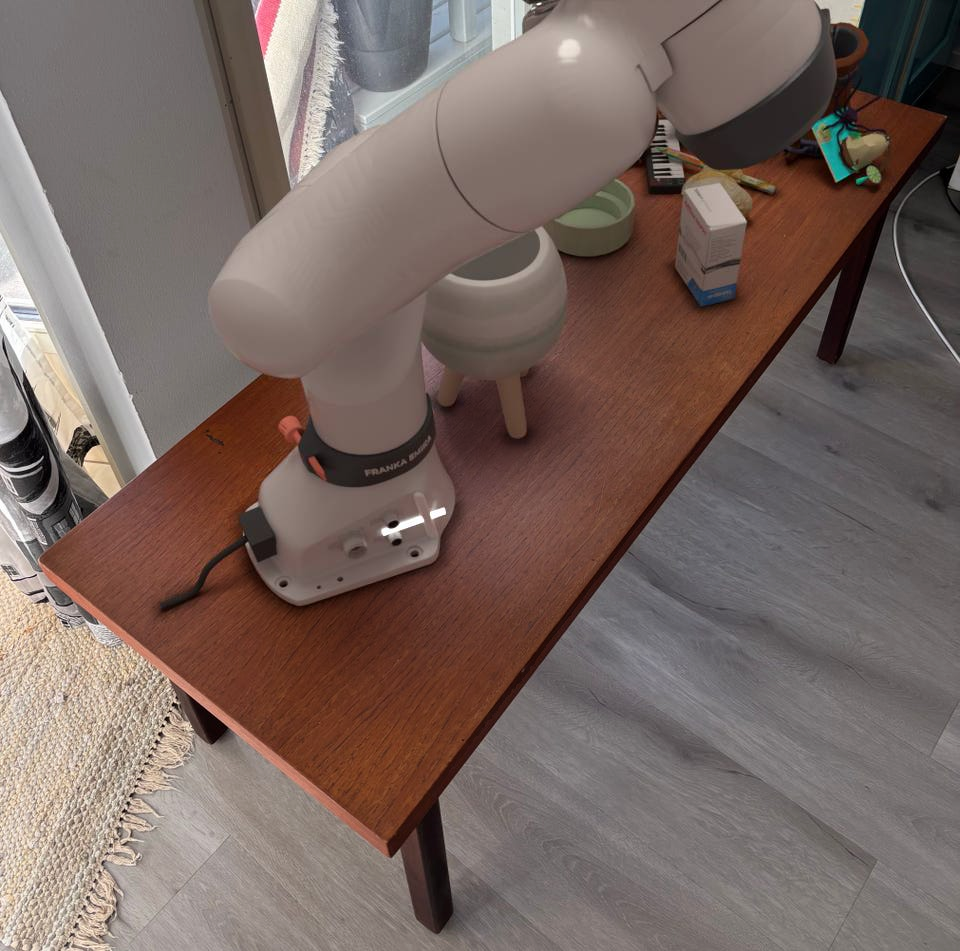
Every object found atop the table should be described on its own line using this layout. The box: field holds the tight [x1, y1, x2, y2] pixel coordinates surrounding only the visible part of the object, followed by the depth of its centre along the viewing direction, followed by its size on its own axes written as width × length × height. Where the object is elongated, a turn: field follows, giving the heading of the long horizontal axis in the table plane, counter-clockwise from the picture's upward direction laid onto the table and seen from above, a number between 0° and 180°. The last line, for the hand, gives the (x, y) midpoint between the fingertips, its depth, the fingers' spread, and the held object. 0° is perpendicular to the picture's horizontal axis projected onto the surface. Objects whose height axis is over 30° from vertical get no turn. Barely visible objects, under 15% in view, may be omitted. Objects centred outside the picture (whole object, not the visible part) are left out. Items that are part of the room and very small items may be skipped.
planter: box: [422, 226, 569, 439], centre depth 104 cm, size 16×16×22 cm
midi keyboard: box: [643, 116, 687, 194], centre depth 141 cm, size 18×1×5 cm
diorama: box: [812, 73, 892, 186], centre depth 133 cm, size 11×15×6 cm
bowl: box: [542, 178, 635, 257], centre depth 130 cm, size 12×12×5 cm
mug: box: [784, 21, 870, 163], centre depth 135 cm, size 18×12×15 cm, turn 143°
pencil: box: [655, 147, 777, 195], centre depth 137 cm, size 1×1×18 cm
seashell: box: [680, 165, 754, 219], centre depth 131 cm, size 10×6×15 cm
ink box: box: [674, 183, 748, 308], centre depth 119 cm, size 9×5×12 cm, turn 14°
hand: (599, 100), depth 114 cm, fingers closed on fruit, 7 cm apart
